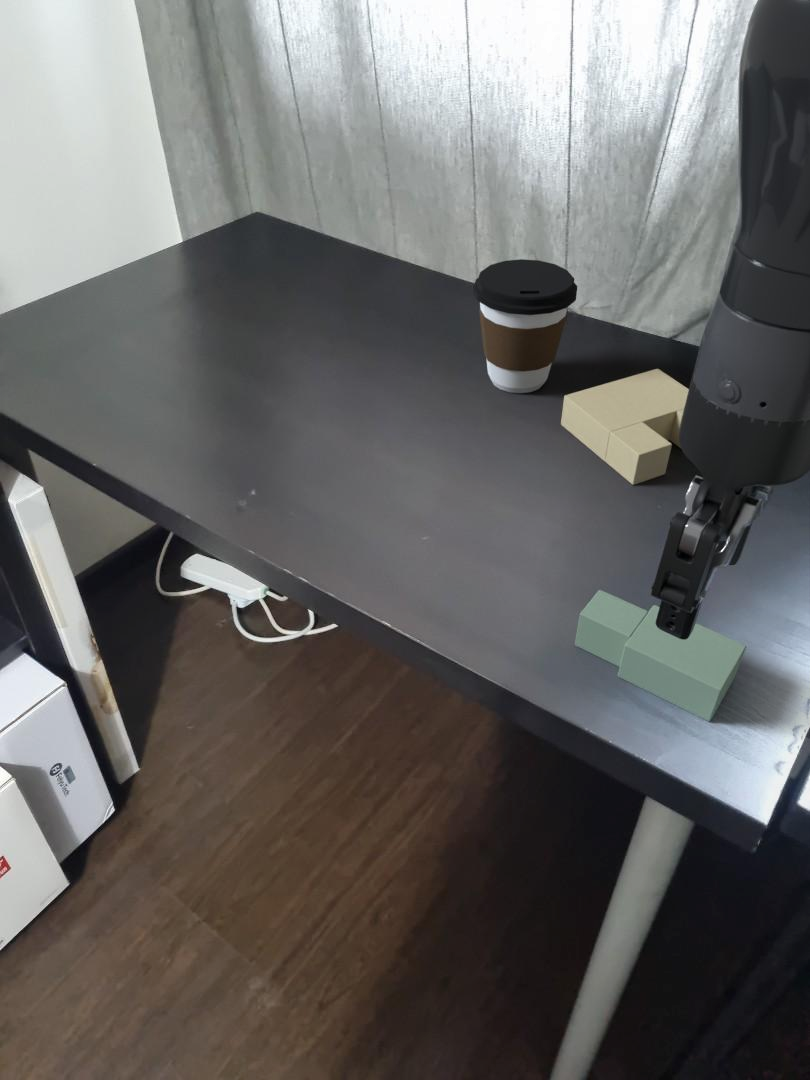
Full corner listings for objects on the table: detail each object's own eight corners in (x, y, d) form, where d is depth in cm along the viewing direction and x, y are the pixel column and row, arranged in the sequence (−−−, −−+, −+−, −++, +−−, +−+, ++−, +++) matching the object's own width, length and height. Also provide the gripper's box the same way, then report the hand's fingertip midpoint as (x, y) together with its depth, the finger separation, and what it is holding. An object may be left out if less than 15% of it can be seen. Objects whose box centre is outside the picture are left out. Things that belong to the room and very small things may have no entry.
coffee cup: (572, 404, 89) (587, 299, 82) (472, 405, 90) (476, 300, 82) (559, 356, 98) (571, 256, 90) (467, 356, 98) (470, 257, 90)
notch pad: (729, 452, 82) (738, 422, 80) (632, 485, 78) (639, 455, 76) (651, 396, 90) (657, 368, 88) (560, 424, 87) (564, 395, 84)
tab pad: (735, 677, 60) (747, 645, 58) (709, 722, 57) (721, 690, 55) (598, 614, 66) (604, 582, 63) (568, 652, 63) (573, 620, 60)
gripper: (796, 466, 38) (713, 687, 49) (873, 347, 47) (788, 557, 58) (645, 415, 42) (598, 632, 53) (743, 312, 50) (685, 517, 61)
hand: (698, 592), depth 55 cm, fingers open, 8 cm apart
